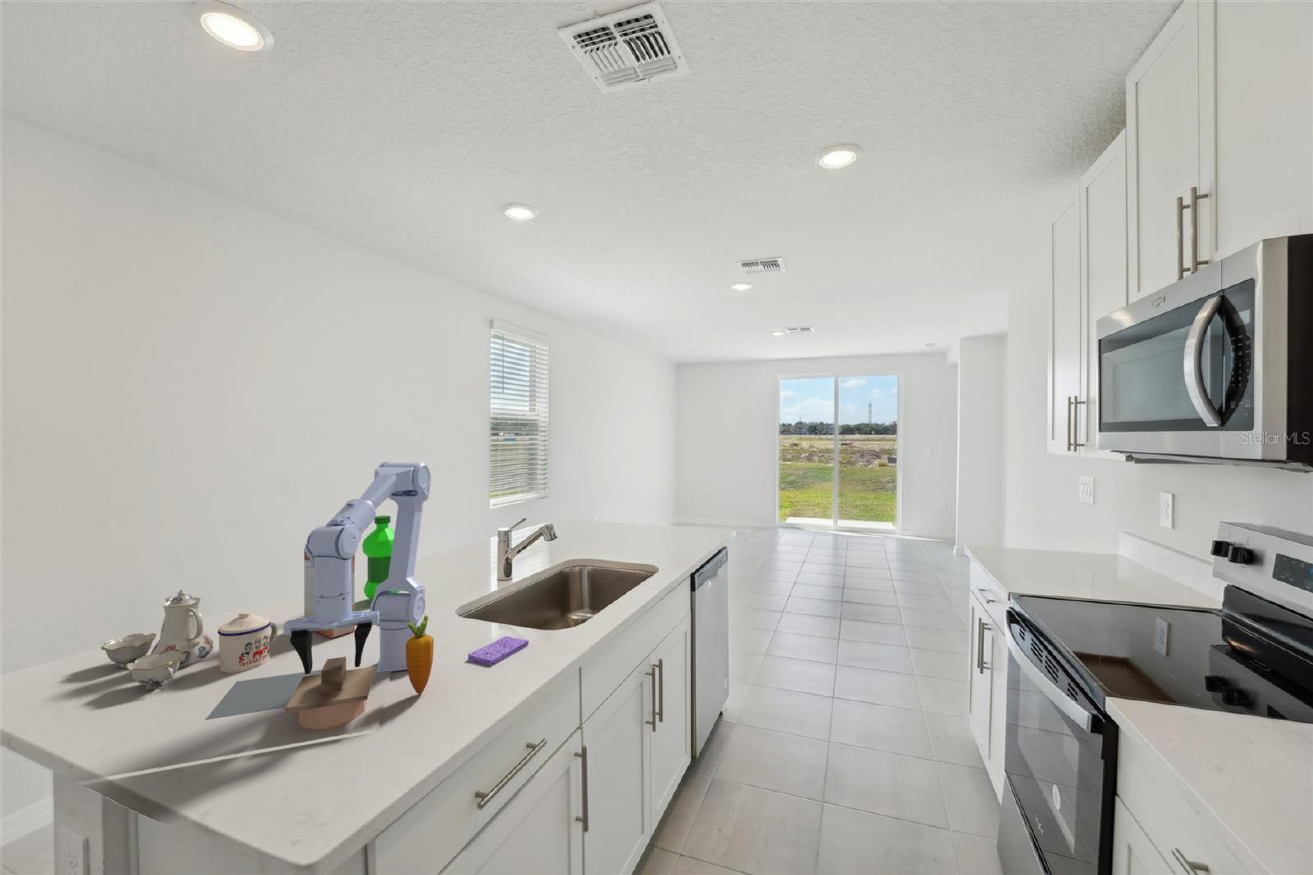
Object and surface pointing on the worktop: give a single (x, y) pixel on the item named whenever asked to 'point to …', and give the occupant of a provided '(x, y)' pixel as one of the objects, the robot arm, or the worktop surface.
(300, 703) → the walnut lid
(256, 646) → the teacup with lid
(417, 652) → the carrot
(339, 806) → the worktop surface
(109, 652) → the chinaware
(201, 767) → the worktop surface
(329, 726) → the terracotta bowl
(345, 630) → the cracker box
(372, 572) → the plastic bottle
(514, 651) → the sponges
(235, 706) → the rubber mat
